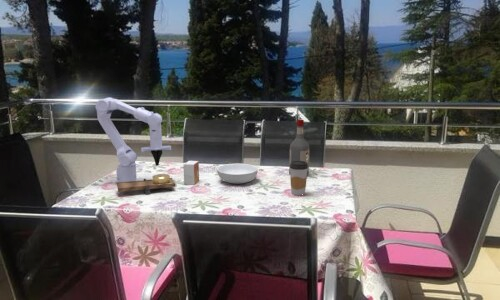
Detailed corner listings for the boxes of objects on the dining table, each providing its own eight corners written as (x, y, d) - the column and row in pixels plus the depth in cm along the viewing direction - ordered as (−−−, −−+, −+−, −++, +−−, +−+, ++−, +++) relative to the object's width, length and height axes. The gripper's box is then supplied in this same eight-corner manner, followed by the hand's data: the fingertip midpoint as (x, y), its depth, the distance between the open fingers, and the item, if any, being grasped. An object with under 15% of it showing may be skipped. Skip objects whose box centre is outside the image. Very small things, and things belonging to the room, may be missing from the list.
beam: (118, 191, 195) (118, 188, 195) (117, 185, 205) (116, 182, 204) (175, 186, 204) (175, 183, 204) (171, 180, 213) (171, 177, 213)
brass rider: (154, 185, 201) (153, 179, 201) (151, 181, 209) (151, 175, 208) (171, 183, 204) (170, 177, 203) (168, 179, 211) (168, 173, 211)
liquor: (287, 175, 230) (288, 120, 224) (295, 172, 238) (296, 118, 232) (303, 178, 226) (304, 121, 219) (310, 174, 233) (311, 119, 227)
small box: (194, 185, 214) (193, 164, 212) (183, 184, 215) (183, 164, 213) (199, 180, 222) (199, 160, 220) (189, 180, 223) (188, 160, 221)
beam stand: (145, 194, 199) (145, 185, 198) (142, 187, 210) (142, 178, 209) (150, 194, 200) (149, 185, 199) (147, 187, 211) (146, 178, 210)
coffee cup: (308, 192, 203) (309, 161, 200) (305, 197, 195) (306, 165, 192) (291, 190, 206) (292, 159, 202) (287, 195, 198) (287, 163, 195)
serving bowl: (210, 184, 215) (209, 171, 214) (227, 174, 234) (227, 161, 233) (248, 189, 208) (248, 175, 206) (263, 178, 227) (263, 165, 225)
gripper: (141, 140, 207) (143, 168, 209) (171, 138, 211) (173, 165, 214) (140, 138, 213) (141, 164, 216) (169, 136, 218) (170, 162, 221)
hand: (157, 165), depth 216 cm, fingers closed
